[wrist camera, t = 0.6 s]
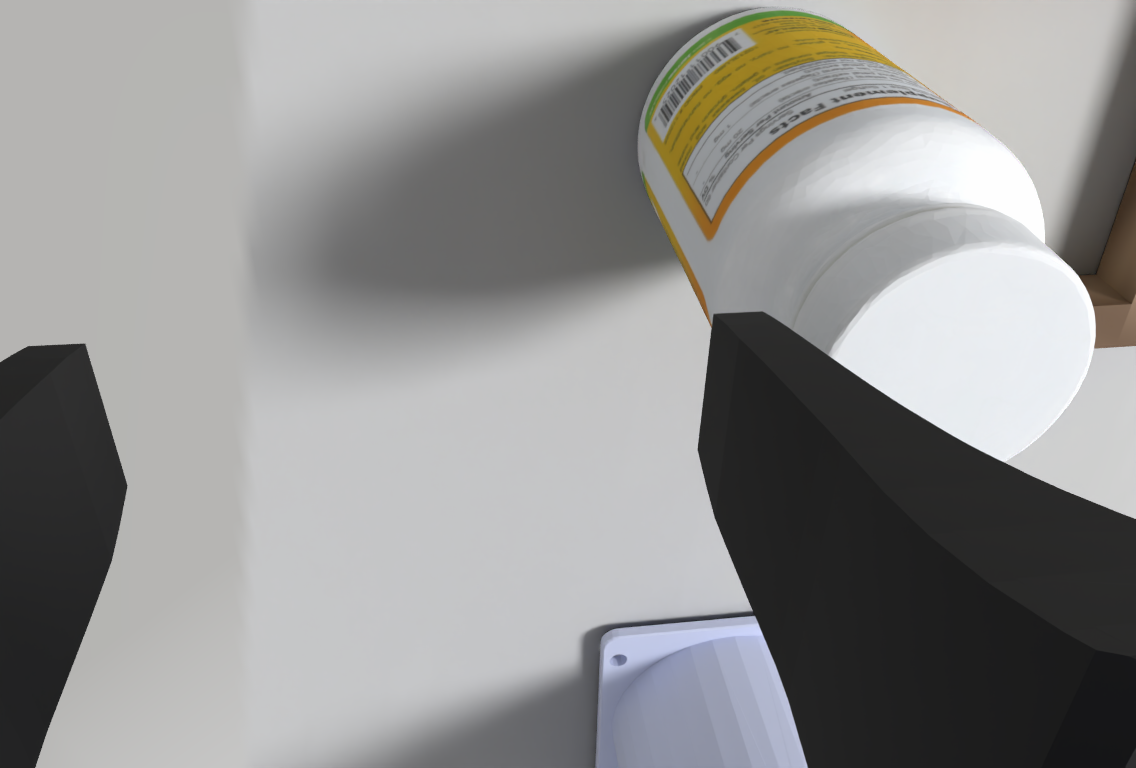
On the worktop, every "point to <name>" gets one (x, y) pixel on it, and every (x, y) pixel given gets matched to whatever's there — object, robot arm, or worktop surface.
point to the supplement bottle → (865, 223)
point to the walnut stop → (1117, 278)
